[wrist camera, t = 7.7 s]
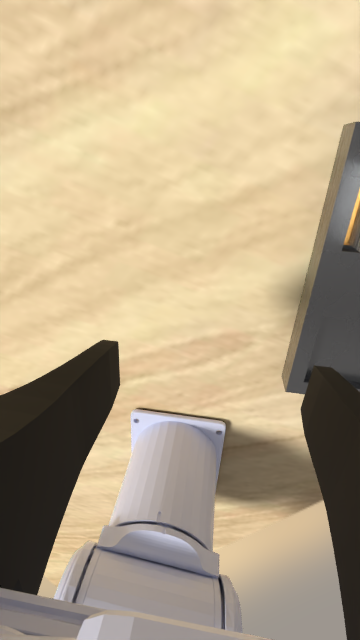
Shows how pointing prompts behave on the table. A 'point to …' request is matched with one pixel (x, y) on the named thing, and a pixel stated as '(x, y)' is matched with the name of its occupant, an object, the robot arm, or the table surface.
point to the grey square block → (356, 233)
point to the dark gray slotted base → (331, 281)
